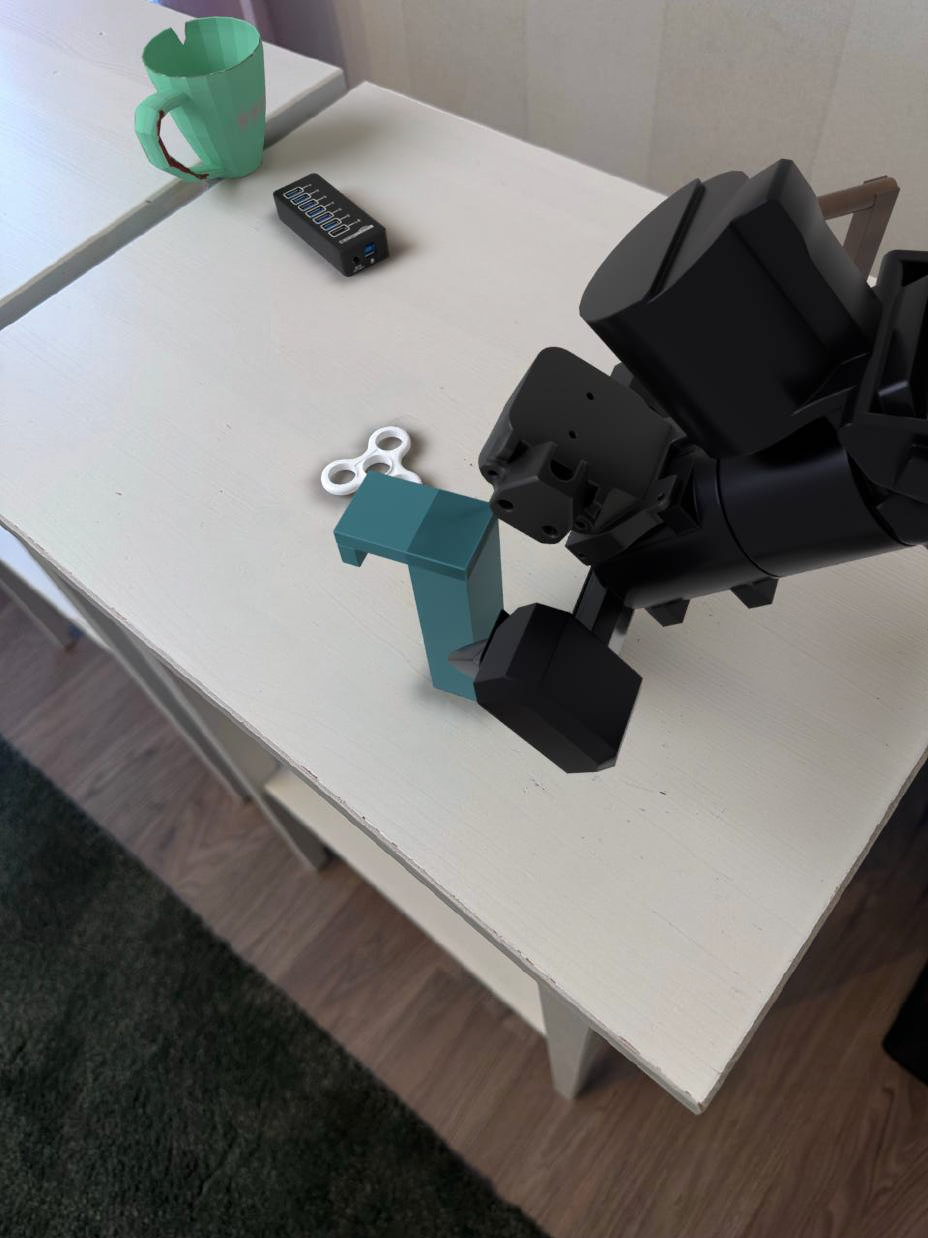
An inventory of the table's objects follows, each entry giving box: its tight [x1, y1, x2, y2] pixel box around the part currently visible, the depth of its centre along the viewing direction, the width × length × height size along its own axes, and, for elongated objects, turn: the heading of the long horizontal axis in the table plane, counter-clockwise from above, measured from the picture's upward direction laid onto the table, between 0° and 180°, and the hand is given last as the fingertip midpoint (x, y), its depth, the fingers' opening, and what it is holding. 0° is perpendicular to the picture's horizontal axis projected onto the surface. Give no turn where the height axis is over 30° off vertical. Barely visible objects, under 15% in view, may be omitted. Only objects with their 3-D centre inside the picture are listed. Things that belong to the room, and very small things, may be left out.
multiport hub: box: [272, 172, 390, 277], centre depth 74 cm, size 4×11×2 cm, turn 37°
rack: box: [816, 174, 901, 282], centre depth 57 cm, size 4×12×14 cm, turn 108°
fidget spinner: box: [320, 425, 423, 496], centre depth 60 cm, size 7×6×1 cm
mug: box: [133, 15, 267, 184], centre depth 77 cm, size 15×10×10 cm
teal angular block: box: [332, 470, 505, 702], centre depth 47 cm, size 7×4×13 cm, turn 68°
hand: (490, 586), depth 44 cm, fingers open, 9 cm apart
